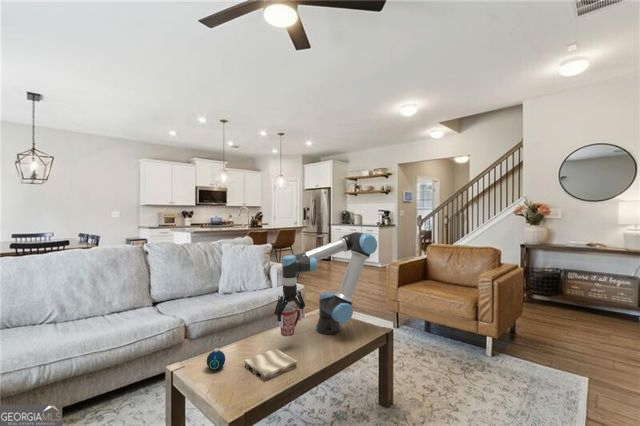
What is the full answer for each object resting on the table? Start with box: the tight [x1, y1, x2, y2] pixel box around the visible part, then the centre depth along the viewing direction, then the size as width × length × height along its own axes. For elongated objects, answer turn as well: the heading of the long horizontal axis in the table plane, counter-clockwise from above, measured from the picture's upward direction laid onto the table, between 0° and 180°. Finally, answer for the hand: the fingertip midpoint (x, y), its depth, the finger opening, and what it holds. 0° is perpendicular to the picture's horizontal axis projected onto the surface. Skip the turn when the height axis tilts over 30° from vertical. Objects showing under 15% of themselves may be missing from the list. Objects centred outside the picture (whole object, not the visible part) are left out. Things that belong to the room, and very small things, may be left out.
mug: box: [280, 306, 300, 337], centre depth 167 cm, size 13×9×14 cm
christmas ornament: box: [206, 347, 226, 371], centre depth 145 cm, size 8×8×10 cm
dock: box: [244, 348, 298, 382], centre depth 147 cm, size 18×18×3 cm
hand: (290, 323), depth 167 cm, fingers closed on mug, 12 cm apart
